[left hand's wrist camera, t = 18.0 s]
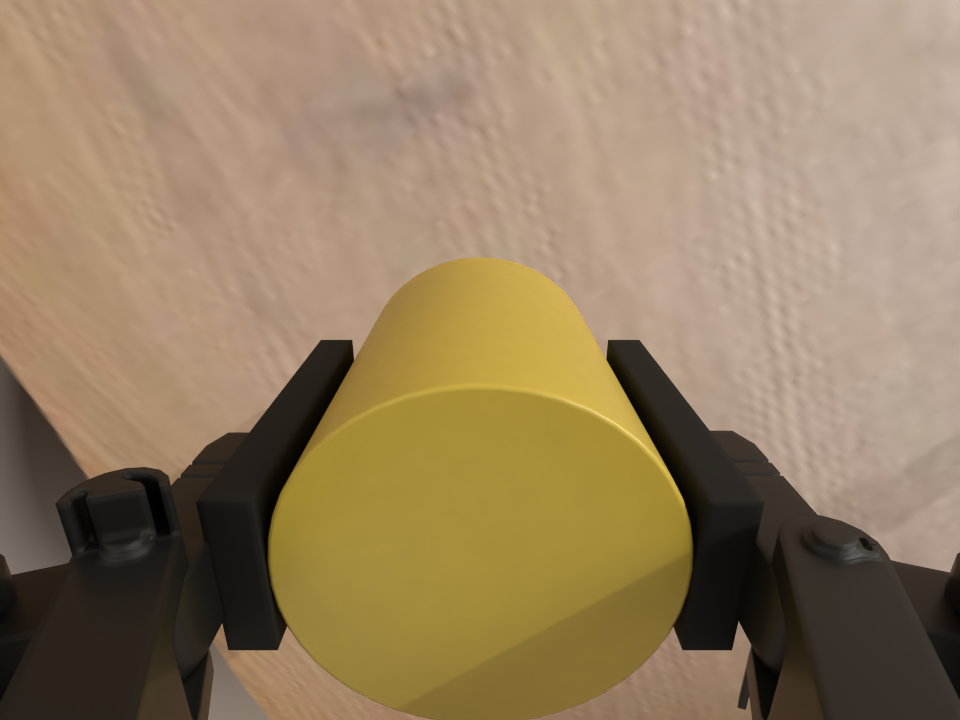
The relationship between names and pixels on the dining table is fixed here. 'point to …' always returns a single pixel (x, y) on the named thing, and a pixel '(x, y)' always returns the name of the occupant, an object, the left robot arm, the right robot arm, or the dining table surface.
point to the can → (480, 509)
